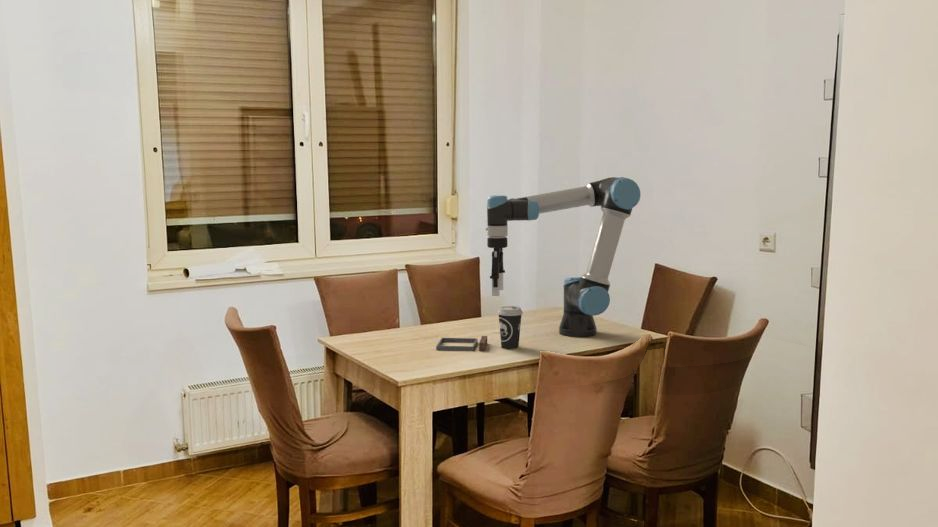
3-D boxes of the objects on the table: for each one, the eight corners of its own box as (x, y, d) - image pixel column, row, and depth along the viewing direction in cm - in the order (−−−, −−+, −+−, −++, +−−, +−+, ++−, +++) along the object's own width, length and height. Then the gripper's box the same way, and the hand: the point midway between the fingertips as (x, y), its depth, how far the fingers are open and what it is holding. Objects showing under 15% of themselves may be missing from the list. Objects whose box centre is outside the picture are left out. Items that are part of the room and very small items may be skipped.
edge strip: (487, 343, 299) (487, 335, 299) (484, 350, 287) (484, 343, 287) (482, 343, 299) (482, 335, 299) (479, 350, 288) (479, 342, 287)
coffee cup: (520, 350, 288) (520, 310, 286) (495, 349, 289) (495, 309, 288) (524, 344, 297) (524, 306, 295) (499, 343, 299) (499, 305, 297)
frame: (477, 342, 302) (477, 338, 301) (473, 350, 288) (473, 346, 288) (441, 341, 303) (441, 337, 303) (436, 349, 289) (436, 345, 289)
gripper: (491, 233, 304) (491, 287, 307) (483, 240, 280) (483, 298, 282) (510, 233, 303) (510, 287, 306) (504, 240, 279) (504, 298, 281)
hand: (497, 293), depth 294 cm, fingers open, 13 cm apart
